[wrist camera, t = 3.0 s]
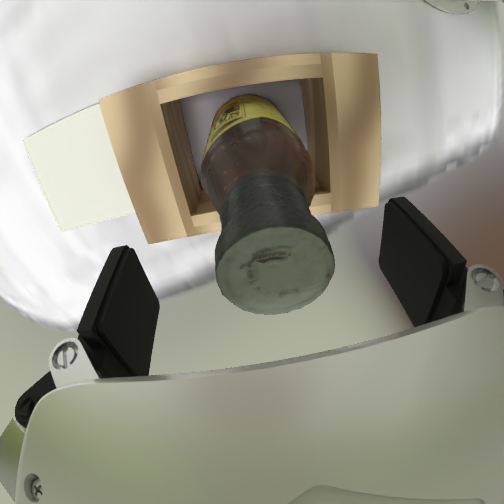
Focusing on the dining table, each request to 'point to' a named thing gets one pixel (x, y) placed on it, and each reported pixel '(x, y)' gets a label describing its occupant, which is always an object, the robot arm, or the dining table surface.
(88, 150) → the mat
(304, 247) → the sauce bottle
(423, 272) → the robot arm
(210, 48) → the dining table surface
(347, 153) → the carton
